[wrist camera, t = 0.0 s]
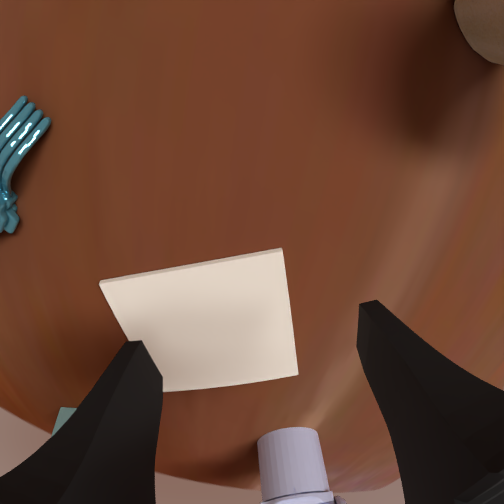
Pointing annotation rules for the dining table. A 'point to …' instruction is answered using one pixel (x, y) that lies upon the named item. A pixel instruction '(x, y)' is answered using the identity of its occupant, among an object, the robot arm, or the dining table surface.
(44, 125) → the flying bird
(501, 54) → the flower pot
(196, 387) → the mat
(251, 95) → the dining table surface
